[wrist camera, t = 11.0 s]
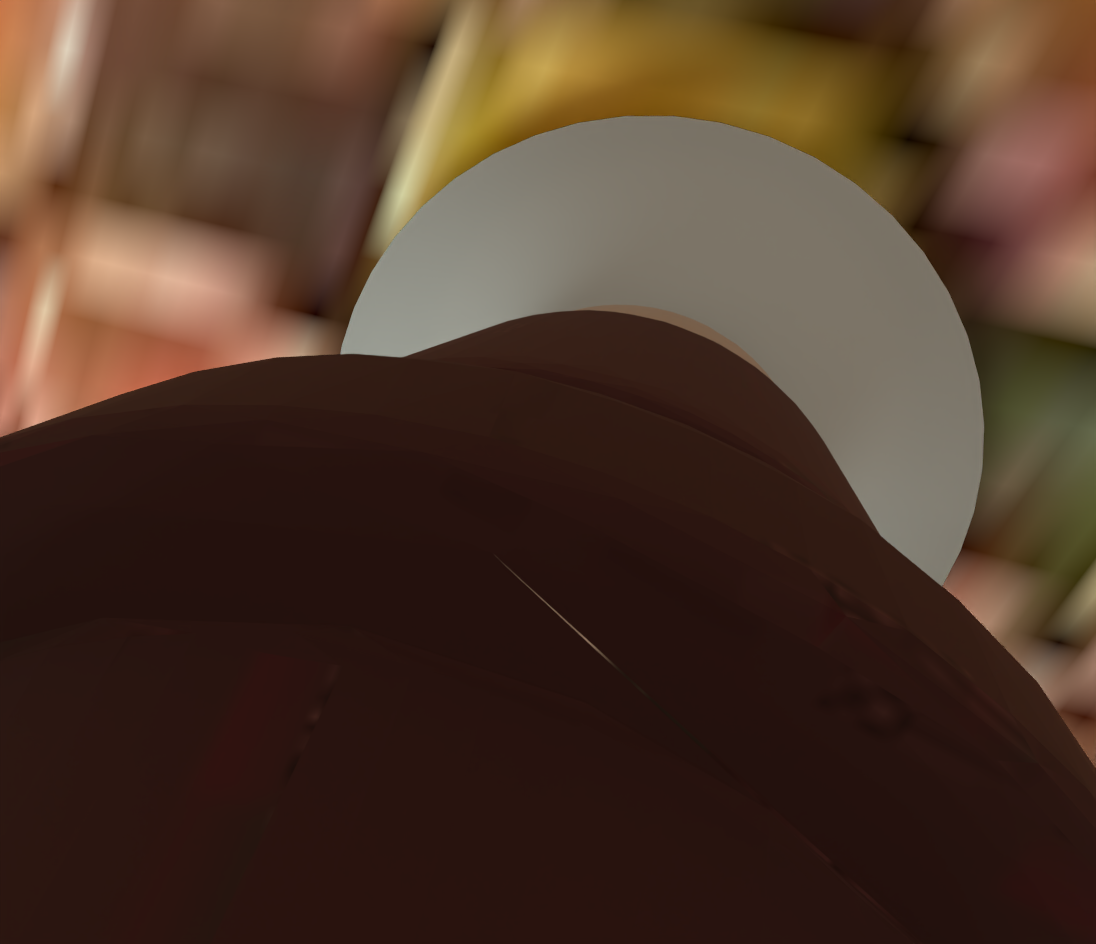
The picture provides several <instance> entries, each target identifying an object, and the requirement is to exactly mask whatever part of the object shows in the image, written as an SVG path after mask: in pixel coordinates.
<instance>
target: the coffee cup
mask: <svg viewBox="0 0 1096 944" xmlns="http://www.w3.org/2000/svg"><path fill="white" fill-rule="evenodd" d="M0 944H1096V769H1095V767H1094V766H1093V764H1092V763H1091V761H1090V760H1089V758H1088V757H1087V755H1086V754H1085V752H1084V751H1083V749H1082V748H1081V746H1080V745H1079V743H1078V742H1077V740H1076V739H1075V737H1074V736H1073V734H1072V733H1071V731H1070V730H1069V728H1068V727H1067V725H1066V724H1065V723H1064V721H1063V720H1062V718H1061V717H1060V715H1059V714H1058V712H1057V711H1056V709H1055V708H1054V706H1053V705H1052V703H1051V702H1050V700H1049V699H1048V697H1047V696H1046V694H1045V693H1044V691H1043V690H1042V688H1041V687H1040V685H1039V684H1038V682H1037V681H1036V680H1035V679H1034V678H1033V677H1032V676H1031V675H1030V674H1029V673H1028V672H1027V671H1026V670H1025V669H1024V668H1023V667H1022V666H1021V665H1020V664H1019V663H1018V662H1017V661H1016V660H1015V659H1014V657H1013V656H1012V655H1011V654H1010V653H1009V652H1008V651H1007V650H1006V649H1005V648H1004V647H1003V646H1002V645H1001V644H1000V643H999V642H998V641H997V640H996V639H995V638H994V637H993V636H992V635H991V634H990V633H989V631H988V630H987V629H986V628H985V627H984V626H983V625H982V624H981V623H980V622H979V621H978V620H977V619H976V618H975V617H974V616H973V615H972V614H971V613H970V612H969V611H968V610H967V609H966V608H965V606H964V605H963V604H962V603H961V602H960V601H959V600H958V599H956V598H955V597H954V596H953V595H952V594H950V593H949V592H948V591H947V590H946V589H944V588H943V587H942V586H941V585H939V584H938V583H937V582H936V581H935V580H933V579H932V578H931V577H930V576H929V575H927V574H926V573H925V572H924V571H923V570H921V569H920V568H919V567H918V566H917V565H915V564H914V563H913V562H912V561H910V560H909V559H908V558H907V557H906V556H904V555H903V554H902V553H901V552H900V551H898V550H897V549H896V548H895V547H894V546H892V545H891V544H890V543H889V542H887V541H886V540H885V539H884V538H883V537H881V535H880V534H879V532H878V530H877V529H876V527H875V525H874V524H873V522H872V520H871V519H870V517H869V515H868V514H867V512H866V510H865V509H864V507H863V505H862V504H861V502H860V501H859V499H858V497H857V496H856V494H855V492H854V491H853V489H852V487H851V486H850V484H849V482H848V481H847V479H846V477H845V476H844V474H843V472H842V471H841V469H840V467H839V466H838V464H837V462H836V461H835V459H834V457H833V456H832V454H831V452H830V451H829V449H828V447H827V446H826V444H825V442H824V441H823V439H822V438H821V436H820V435H819V434H818V432H817V431H816V429H815V428H814V426H813V425H812V424H811V422H810V421H809V420H808V419H807V417H806V416H805V415H804V414H803V412H802V411H801V410H800V409H799V407H798V406H797V405H796V403H795V402H793V401H792V400H791V399H790V398H789V397H788V396H787V395H786V394H785V393H784V392H783V391H782V390H781V389H780V388H779V387H778V386H777V385H776V384H775V383H774V382H773V381H772V380H771V378H770V377H769V375H768V374H767V373H766V372H765V371H764V370H763V369H762V367H761V366H760V365H759V364H758V363H757V362H756V361H755V360H754V359H753V358H752V357H751V356H750V355H748V354H747V353H746V352H745V351H744V350H743V349H742V348H740V347H739V346H738V345H737V344H735V343H734V342H732V341H731V340H729V339H727V338H726V337H724V336H723V335H721V334H720V333H718V332H716V331H715V330H713V329H712V328H710V327H709V326H706V325H704V324H702V323H700V322H698V321H696V320H693V319H691V318H688V317H685V316H683V315H680V314H677V313H674V312H670V311H666V310H662V309H657V308H652V307H645V306H637V305H601V306H594V307H586V308H582V309H578V310H573V311H560V312H551V313H544V314H536V315H531V316H527V317H522V318H518V319H514V320H509V321H506V322H503V323H500V324H497V325H494V326H491V327H488V328H486V329H483V330H480V331H477V332H474V333H471V334H468V335H465V336H462V337H460V338H457V339H454V340H451V341H448V342H445V343H442V344H439V345H436V346H434V347H431V348H428V349H425V350H422V351H419V352H416V353H413V354H410V355H408V356H405V357H391V356H378V355H364V354H337V355H318V356H298V357H279V358H271V359H265V360H260V361H254V362H248V363H242V364H237V365H231V366H225V367H220V368H214V369H208V370H202V371H197V372H192V373H189V374H186V375H182V376H179V377H176V378H173V379H169V380H166V381H163V382H160V383H157V384H153V385H150V386H147V387H144V388H140V389H137V390H134V391H131V392H127V393H124V394H121V395H118V396H115V397H113V398H110V399H107V400H104V401H101V402H99V403H96V404H93V405H90V406H87V407H84V408H82V409H79V410H76V411H73V412H70V413H68V414H65V415H62V416H59V417H56V418H54V419H51V420H48V421H45V422H42V423H40V424H37V425H34V426H31V427H28V428H26V429H23V430H20V431H17V432H14V433H11V434H9V435H6V436H3V437H0Z"/></svg>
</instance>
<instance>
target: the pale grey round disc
mask: <svg viewBox="0 0 1096 944" xmlns="http://www.w3.org/2000/svg"><path fill="white" fill-rule="evenodd" d="M601 305H637V306H645V307H652V308H657V309H662V310H666V311H670V312H674V313H677V314H680V315H683V316H685V317H688V318H691V319H693V320H696V321H698V322H700V323H702V324H704V325H706V326H709V327H710V328H712V329H713V330H715V331H716V332H718V333H720V334H721V335H723V336H724V337H726V338H727V339H729V340H731V341H732V342H734V343H735V344H737V345H738V346H739V347H740V348H742V349H743V350H744V351H745V352H746V353H747V354H748V355H750V356H751V357H752V358H753V359H754V360H755V361H756V362H757V363H758V364H759V365H760V366H761V367H762V369H763V370H764V371H765V372H766V373H767V374H768V375H769V377H770V378H771V380H772V381H773V382H774V383H775V384H776V385H777V386H778V387H779V388H780V389H781V390H782V391H783V392H784V393H785V394H786V395H787V396H788V397H789V398H790V399H791V400H792V401H793V402H795V403H796V405H797V406H798V407H799V409H800V410H801V411H802V412H803V414H804V415H805V416H806V417H807V419H808V420H809V421H810V422H811V424H812V425H813V426H814V428H815V429H816V431H817V432H818V434H819V435H820V436H821V438H822V439H823V441H824V442H825V444H826V446H827V447H828V449H829V451H830V452H831V454H832V456H833V457H834V459H835V461H836V462H837V464H838V466H839V467H840V469H841V471H842V472H843V474H844V476H845V477H846V479H847V481H848V482H849V484H850V486H851V487H852V489H853V491H854V492H855V494H856V496H857V497H858V499H859V501H860V502H861V504H862V505H863V507H864V509H865V510H866V512H867V514H868V515H869V517H870V519H871V520H872V522H873V524H874V525H875V527H876V529H877V530H878V532H879V534H880V535H881V537H883V538H884V539H885V540H886V541H887V542H889V543H890V544H891V545H892V546H894V547H895V548H896V549H897V550H898V551H900V552H901V553H902V554H903V555H904V556H906V557H907V558H908V559H909V560H910V561H912V562H913V563H914V564H915V565H917V566H918V567H919V568H920V569H921V570H923V571H924V572H925V573H926V574H927V575H929V576H930V577H931V578H932V579H933V580H935V581H936V582H937V583H938V584H939V585H941V586H943V584H944V582H945V580H946V578H947V576H948V574H949V572H950V570H951V568H952V566H953V565H954V563H955V561H956V559H957V557H958V555H959V553H960V551H961V548H962V545H963V542H964V539H965V536H966V534H967V531H968V528H969V525H970V522H971V519H972V516H973V514H974V510H975V505H976V500H977V494H978V489H979V484H980V479H981V474H982V466H983V443H984V418H983V409H982V400H981V390H980V381H979V377H978V373H977V369H976V366H975V362H974V358H973V354H972V350H971V347H970V343H969V339H968V336H967V333H966V331H965V329H964V326H963V324H962V322H961V319H960V317H959V315H958V312H957V310H956V308H955V305H954V303H953V301H952V299H951V296H950V294H949V292H948V290H947V289H946V287H945V286H944V284H943V282H942V281H941V279H940V278H939V276H938V274H937V273H936V271H935V270H934V268H933V266H932V265H931V263H930V262H929V260H928V258H927V257H926V255H925V254H924V252H923V251H922V250H921V249H920V247H919V246H918V245H917V244H916V243H915V242H914V240H913V239H912V238H911V237H910V236H909V235H908V233H907V232H906V231H905V230H904V229H903V228H902V226H901V225H900V224H899V223H898V222H897V221H896V219H895V218H894V217H893V216H892V215H891V214H890V213H889V212H888V211H886V210H885V209H884V208H883V207H882V206H881V205H879V204H878V203H877V202H876V201H875V200H874V199H873V198H871V197H870V196H869V195H868V194H867V193H866V192H865V191H863V190H862V189H861V188H860V187H859V186H858V185H857V184H855V183H854V182H852V181H851V180H849V179H848V178H846V177H844V176H843V175H841V174H840V173H838V172H837V171H835V170H834V169H832V168H830V167H829V166H827V165H826V164H824V163H823V162H821V161H820V160H818V159H816V158H815V157H813V156H811V155H809V154H806V153H804V152H802V151H800V150H798V149H795V148H793V147H791V146H789V145H787V144H784V143H782V142H780V141H778V140H776V139H773V138H771V137H769V136H765V135H762V134H759V133H755V132H752V131H748V130H745V129H741V128H738V127H734V126H731V125H728V124H724V123H719V122H712V121H705V120H698V119H691V118H684V117H677V116H622V117H615V118H608V119H601V120H594V121H587V122H580V123H576V124H572V125H569V126H566V127H562V128H559V129H555V130H552V131H548V132H545V133H542V134H538V135H535V136H532V137H530V138H528V139H526V140H523V141H521V142H519V143H517V144H515V145H512V146H510V147H508V148H506V149H503V150H501V151H499V152H497V153H495V154H492V155H491V156H489V157H488V158H486V159H485V160H483V161H481V162H480V163H478V164H477V165H475V166H474V167H472V168H470V169H469V170H467V171H466V172H464V173H462V174H461V175H459V176H458V177H456V178H455V179H454V180H452V181H451V182H450V183H449V184H448V185H447V186H445V187H444V188H443V189H442V190H441V191H439V192H438V193H437V194H436V195H435V196H434V197H432V198H431V199H430V200H429V201H428V202H427V203H425V204H424V205H423V206H422V207H421V208H420V209H419V210H418V212H417V213H416V214H415V215H414V216H413V217H412V218H411V219H410V221H409V222H408V223H407V224H406V225H405V226H404V227H403V228H402V230H401V231H400V232H399V233H398V234H397V235H396V236H395V237H394V239H393V240H392V242H391V243H390V245H389V246H388V248H387V249H386V251H385V252H384V254H383V256H382V257H381V259H380V260H379V262H378V263H377V265H376V266H375V268H374V269H373V271H372V272H371V274H370V276H369V278H368V280H367V282H366V285H365V287H364V289H363V291H362V293H361V295H360V297H359V299H358V301H357V303H356V305H355V307H354V310H353V313H352V316H351V319H350V322H349V325H348V329H347V332H346V335H345V338H344V341H343V344H342V348H341V354H364V355H378V356H391V357H405V356H408V355H410V354H413V353H416V352H419V351H422V350H425V349H428V348H431V347H434V346H436V345H439V344H442V343H445V342H448V341H451V340H454V339H457V338H460V337H462V336H465V335H468V334H471V333H474V332H477V331H480V330H483V329H486V328H488V327H491V326H494V325H497V324H500V323H503V322H506V321H509V320H514V319H518V318H522V317H527V316H531V315H536V314H544V313H551V312H560V311H573V310H578V309H582V308H586V307H594V306H601Z"/></svg>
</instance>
